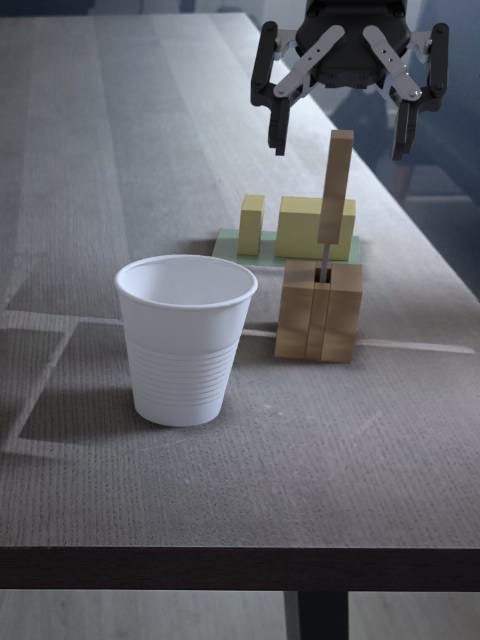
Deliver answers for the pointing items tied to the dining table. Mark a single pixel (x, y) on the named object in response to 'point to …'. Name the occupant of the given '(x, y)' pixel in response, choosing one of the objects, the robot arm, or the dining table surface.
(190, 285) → the cup
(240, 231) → the butter pat
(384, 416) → the dining table surface
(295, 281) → the knife holder
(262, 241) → the board
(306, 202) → the butter block
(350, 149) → the knife
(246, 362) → the dining table surface
